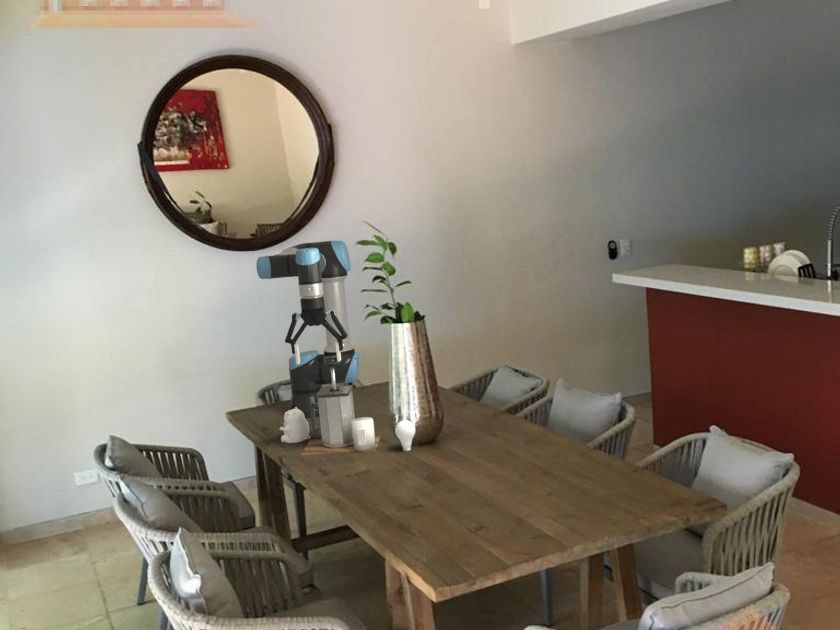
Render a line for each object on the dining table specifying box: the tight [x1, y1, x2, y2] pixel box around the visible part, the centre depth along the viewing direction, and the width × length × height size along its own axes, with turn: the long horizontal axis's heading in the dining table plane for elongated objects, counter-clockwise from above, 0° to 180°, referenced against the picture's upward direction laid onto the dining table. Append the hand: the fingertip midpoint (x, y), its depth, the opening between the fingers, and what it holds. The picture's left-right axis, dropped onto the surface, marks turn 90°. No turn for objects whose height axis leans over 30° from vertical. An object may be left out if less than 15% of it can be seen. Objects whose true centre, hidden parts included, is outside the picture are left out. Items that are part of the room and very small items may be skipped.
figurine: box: [278, 407, 311, 444], centre depth 295 cm, size 10×10×12 cm
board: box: [300, 434, 382, 456], centre depth 284 cm, size 16×24×2 cm, turn 87°
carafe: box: [309, 384, 356, 448], centre depth 285 cm, size 11×14×18 cm
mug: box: [351, 416, 376, 452], centre depth 278 cm, size 9×7×9 cm
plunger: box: [324, 356, 340, 391], centre depth 283 cm, size 8×8×18 cm
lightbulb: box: [394, 419, 416, 452], centre depth 273 cm, size 6×6×11 cm
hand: (318, 362), depth 280 cm, fingers open, 13 cm apart
